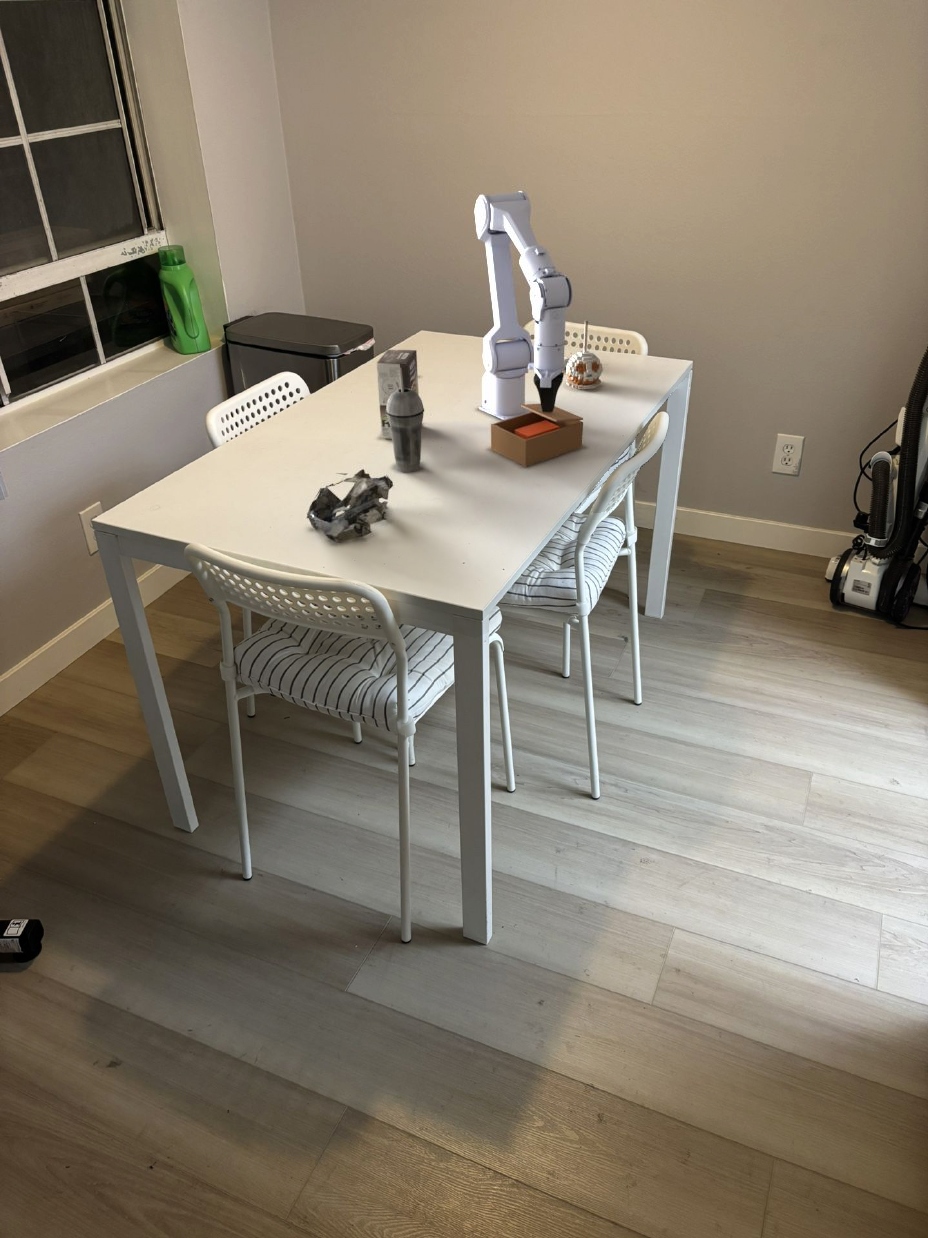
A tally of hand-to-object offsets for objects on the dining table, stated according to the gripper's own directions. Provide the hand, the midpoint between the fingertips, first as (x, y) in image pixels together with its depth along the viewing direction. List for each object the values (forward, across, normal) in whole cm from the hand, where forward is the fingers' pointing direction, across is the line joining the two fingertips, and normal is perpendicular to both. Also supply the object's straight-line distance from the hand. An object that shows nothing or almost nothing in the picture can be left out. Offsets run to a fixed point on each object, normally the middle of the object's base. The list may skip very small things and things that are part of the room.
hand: (547, 410), depth 189 cm
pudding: (+8, -50, -4) cm, 50 cm away
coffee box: (+8, -4, -31) cm, 32 cm away
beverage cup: (+8, +14, -26) cm, 30 cm away
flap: (+1, -1, +1) cm, 1 cm away
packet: (+7, +2, -2) cm, 7 cm away
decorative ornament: (+8, -36, +6) cm, 37 cm away
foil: (+8, +38, -30) cm, 50 cm away
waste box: (+7, +2, -2) cm, 8 cm away
